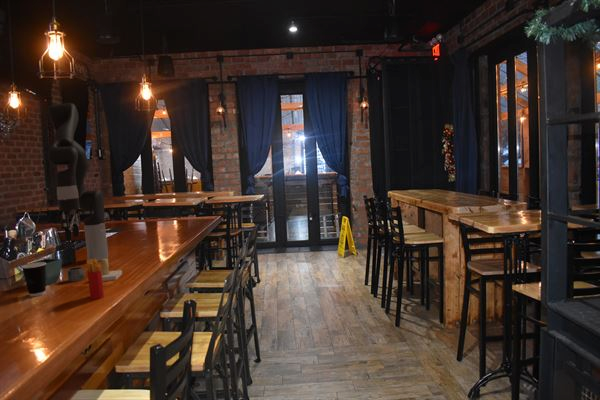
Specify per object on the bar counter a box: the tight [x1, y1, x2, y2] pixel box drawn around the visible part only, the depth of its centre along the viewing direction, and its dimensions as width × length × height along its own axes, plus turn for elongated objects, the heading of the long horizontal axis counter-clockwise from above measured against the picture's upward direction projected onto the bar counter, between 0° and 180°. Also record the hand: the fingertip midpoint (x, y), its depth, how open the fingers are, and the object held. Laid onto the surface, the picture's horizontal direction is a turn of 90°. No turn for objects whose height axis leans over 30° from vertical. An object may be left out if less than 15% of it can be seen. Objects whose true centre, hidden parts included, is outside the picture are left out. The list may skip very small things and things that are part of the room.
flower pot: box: [27, 258, 62, 286], centre depth 193 cm, size 9×9×9 cm
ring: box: [66, 266, 86, 283], centre depth 196 cm, size 6×6×4 cm
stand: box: [100, 258, 123, 282], centre depth 195 cm, size 10×10×8 cm
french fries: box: [86, 258, 105, 301], centre depth 168 cm, size 9×4×13 cm, turn 19°
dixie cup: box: [20, 262, 47, 297], centre depth 177 cm, size 8×8×11 cm
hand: (72, 238), depth 194 cm, fingers open, 8 cm apart
